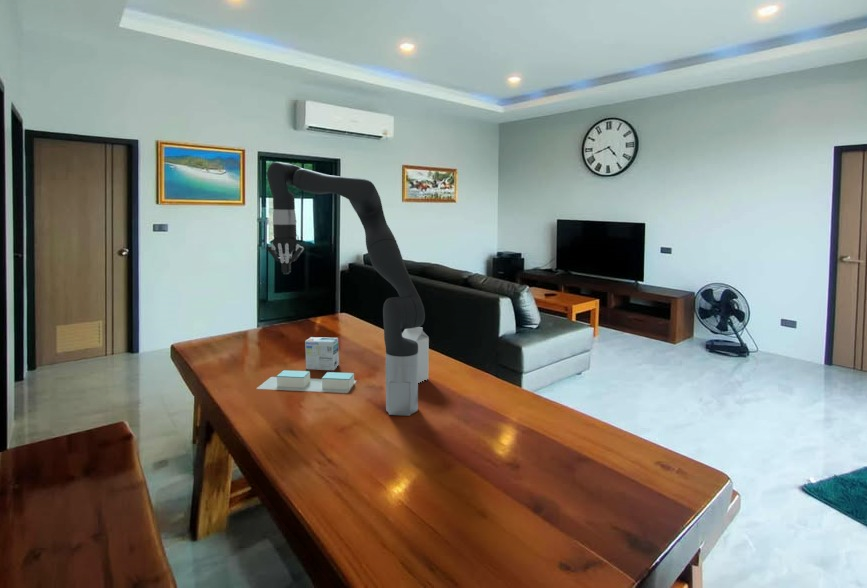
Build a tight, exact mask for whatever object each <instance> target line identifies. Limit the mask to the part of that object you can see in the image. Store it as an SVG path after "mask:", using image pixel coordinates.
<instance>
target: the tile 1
mask: <svg viewBox="0 0 867 588" xmlns="http://www.w3.org/2000/svg"><path fill="white" fill-rule="evenodd" d="M276 377H277V386H281V387H303V388H304V387H305V386H306V385H307V384H308V383H309V382H310V378H311V372H310V370H282V371H281V372H280V373H279V374H277V375H276Z"/></svg>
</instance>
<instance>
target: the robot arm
mask: <svg viewBox="0 0 867 588" xmlns="http://www.w3.org/2000/svg"><path fill="white" fill-rule="evenodd" d="M266 177H267V181H268V186H269V188H270V189H269V190H270V193H271V195H272V209H273V211H272V228H273V229H272V230H273V240H272V243H271V244H270V245H269V246H267V247H266V250H267V251H268V253H269V254H270V255H271V257H272V258H273V259H274V260H275V261H276V262H279V263H280V264H281V265H280V266H281V273H282V274H283V275H289V274H290V273H291V272H292V265H291V264H292V262H295V261H297V260H298V258H299V257H300V255H301V254H302V253H303V251H304V250H305V247H304V246H301V245H300V244H299V241H298V239H297V217H296V215H297V214H296V210H295V209H296V207H295V195H294V193H292V192H291V191H289V190H288V186H292V187H295V188H296V189H298V190H301V191H302V192H306V193H310V194H313V195H327V194H336V195H339V196H341V197H343V198H345V199H347V200H348V201H349V203H350V204H351V205H350V206H352V208H353V210H354V212H355V213H356V214H357V216H358V218H359V220H360V222H361V224H362V227H363V230H364V234H365V235H364V236H365V247H366V251H367V255H368V257H369V259H370V262H371V265H372V268H374V270H375V271H376V272H377V274H378V275H380V276H381V277H382V278H383V279H385V280H386V281H387V282H388V283H389V284H391V286H392V287H393V288H394V289H395V290H396V291H397V294H398V296H394V297H393V296H392V297H388V298H386V300H385V301H384V303H383V307H382V318H383V319H382V320H383V336H384V346H385V411H386V412H387V413H388V415H389V416H406V417H408V416H409V417H410V416H411V415H413V414H415V413H416V412H418V410H419V384H418V344H417V342H416V341H414V340H411V339H407V338H404V337H402V333H403V331H402V330H405V329H409V328H416V327H421V326H423V325H424V323H425V320H426V312H425V306H424V304H423V302H422V301H423V300H422V298H421V297H420V294H419V293H418V291H417V289H416V287H415V285H414V282H413V281H412V278H411V276H410V274H409V271H408V269H407V266H406V264H405V262H404V259H403V256H402V253H401V250H400V247H399V245H398V243H397V242H398V241H397V239H396V237H395V236H394V233H393V231H392V230H391V229H390V227H389V225H388V223H387V221H386V217H385V214H384V208H383V204H382V200H381V196H380V195H379V192H378V189H377V188H376V186H375V184H374V183H373V182H372V181H371V180H368V179H366V178H360V177H359V178H358V177H350V176H349V177H347V176H339V175H333V174H332V175H330V174H326V173H322V172H318V171H314V170H311V169H307V168H302V167H301V166H298V165H295V164H293V163H288V162H280V161H279V162H278V161H276V162H271V163H270V164H269V166H268V168H267V172H266ZM294 251H295V252H294ZM293 252H294V254H293Z"/></svg>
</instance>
